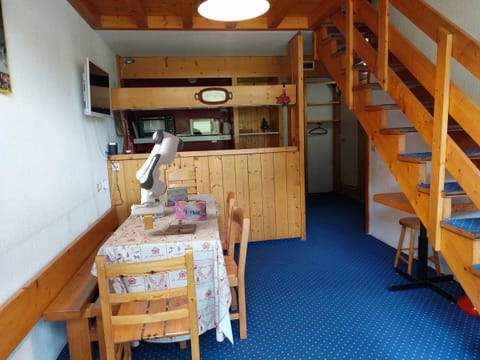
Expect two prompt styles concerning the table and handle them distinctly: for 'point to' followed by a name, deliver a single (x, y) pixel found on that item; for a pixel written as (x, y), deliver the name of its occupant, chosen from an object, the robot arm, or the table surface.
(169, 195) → the snack box
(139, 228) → the table surface
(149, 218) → the upright amber block
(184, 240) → the table surface
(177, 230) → the walnut post board
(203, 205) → the gum box
